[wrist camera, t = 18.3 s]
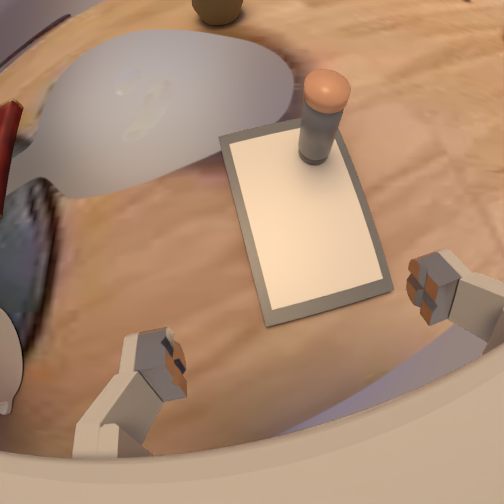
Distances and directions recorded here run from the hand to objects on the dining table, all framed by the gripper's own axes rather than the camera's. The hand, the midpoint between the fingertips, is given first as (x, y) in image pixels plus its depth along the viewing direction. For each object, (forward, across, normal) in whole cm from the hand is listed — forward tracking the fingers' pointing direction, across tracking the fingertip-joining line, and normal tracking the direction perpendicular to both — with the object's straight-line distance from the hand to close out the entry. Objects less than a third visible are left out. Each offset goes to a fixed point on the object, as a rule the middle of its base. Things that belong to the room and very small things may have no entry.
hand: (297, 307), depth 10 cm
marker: (+27, -9, +5) cm, 29 cm away
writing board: (+23, -6, +10) cm, 26 cm away
